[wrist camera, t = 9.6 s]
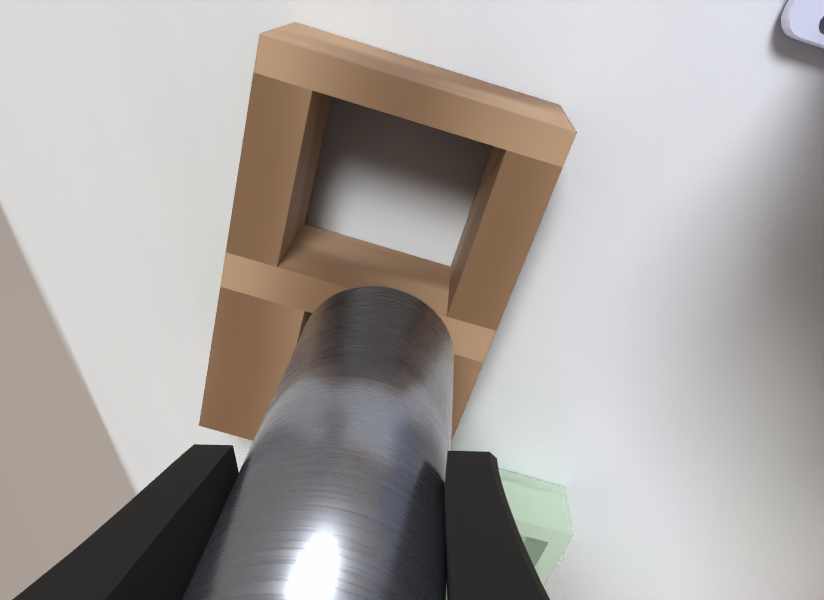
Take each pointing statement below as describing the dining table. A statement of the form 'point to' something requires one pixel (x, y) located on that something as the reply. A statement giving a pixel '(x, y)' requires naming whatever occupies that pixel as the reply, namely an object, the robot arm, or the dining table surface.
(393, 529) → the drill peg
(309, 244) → the socket block
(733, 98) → the dining table surface
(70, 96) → the dining table surface
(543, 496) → the tray
